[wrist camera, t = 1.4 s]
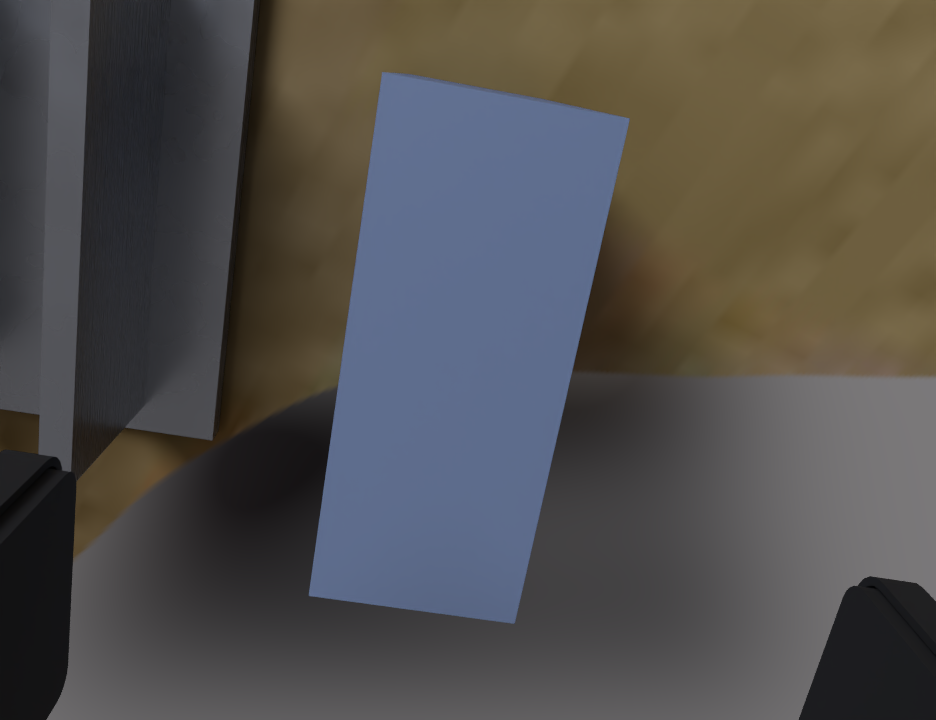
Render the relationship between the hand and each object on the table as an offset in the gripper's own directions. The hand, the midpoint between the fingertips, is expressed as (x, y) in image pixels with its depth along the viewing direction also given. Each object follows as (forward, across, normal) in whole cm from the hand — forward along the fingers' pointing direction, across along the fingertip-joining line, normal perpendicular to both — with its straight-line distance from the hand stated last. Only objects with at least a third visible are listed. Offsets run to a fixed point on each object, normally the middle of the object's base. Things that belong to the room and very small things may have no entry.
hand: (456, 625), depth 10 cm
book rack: (+24, +15, 0) cm, 28 cm away
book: (+24, 0, 0) cm, 24 cm away
